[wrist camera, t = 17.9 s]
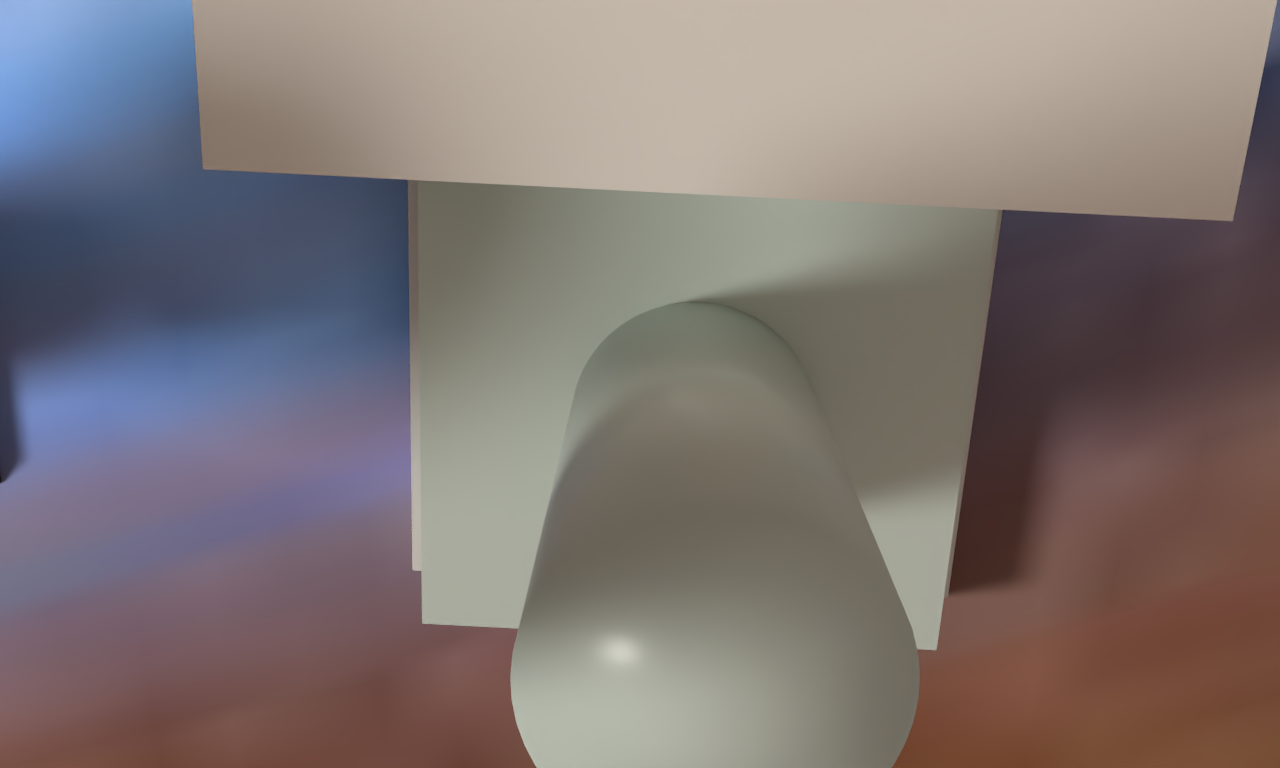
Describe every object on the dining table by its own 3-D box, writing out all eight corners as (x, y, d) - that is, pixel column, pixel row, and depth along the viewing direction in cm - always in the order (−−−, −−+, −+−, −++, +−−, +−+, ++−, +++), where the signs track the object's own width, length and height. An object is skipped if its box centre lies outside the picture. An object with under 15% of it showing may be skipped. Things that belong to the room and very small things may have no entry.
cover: (436, 151, 19) (231, 261, 10) (975, 177, 19) (1258, 314, 10) (438, 583, 22) (274, 989, 12) (917, 608, 21) (1106, 1032, 12)
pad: (411, 162, 20) (407, 164, 19) (999, 191, 19) (1005, 194, 19) (415, 563, 22) (412, 570, 21) (943, 590, 22) (947, 597, 21)
